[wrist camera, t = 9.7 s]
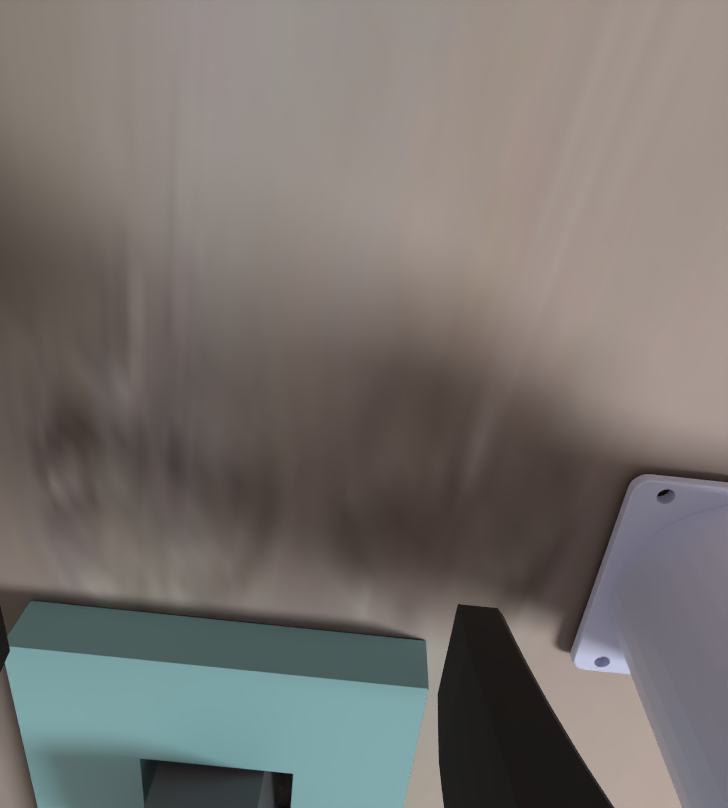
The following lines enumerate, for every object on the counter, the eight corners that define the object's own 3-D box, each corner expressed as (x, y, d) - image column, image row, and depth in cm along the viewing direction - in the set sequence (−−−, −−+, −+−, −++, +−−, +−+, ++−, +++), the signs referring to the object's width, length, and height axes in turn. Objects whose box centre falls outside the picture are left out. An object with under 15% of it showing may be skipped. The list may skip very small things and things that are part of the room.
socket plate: (426, 640, 23) (428, 688, 22) (377, 883, 31) (376, 933, 29) (30, 600, 23) (0, 645, 21) (78, 853, 31) (59, 902, 29)
